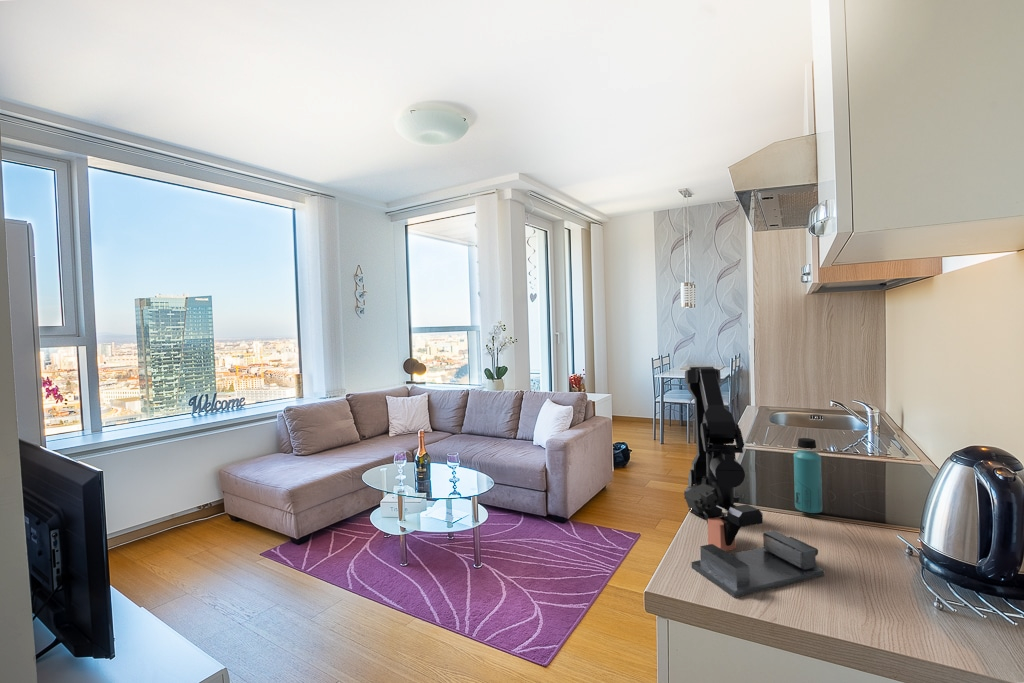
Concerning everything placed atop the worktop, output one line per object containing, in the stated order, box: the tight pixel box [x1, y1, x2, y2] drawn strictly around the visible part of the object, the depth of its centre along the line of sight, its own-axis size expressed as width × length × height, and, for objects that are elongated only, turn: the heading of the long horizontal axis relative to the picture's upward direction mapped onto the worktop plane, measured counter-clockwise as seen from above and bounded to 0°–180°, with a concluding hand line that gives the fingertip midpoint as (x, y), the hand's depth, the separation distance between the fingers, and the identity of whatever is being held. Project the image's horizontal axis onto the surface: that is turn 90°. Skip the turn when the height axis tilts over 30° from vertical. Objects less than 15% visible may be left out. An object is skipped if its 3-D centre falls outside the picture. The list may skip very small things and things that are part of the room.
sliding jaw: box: [762, 529, 819, 570], centre depth 100 cm, size 6×10×4 cm, turn 18°
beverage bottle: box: [792, 437, 824, 514], centre depth 126 cm, size 6×7×20 cm
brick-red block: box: [707, 516, 736, 552], centre depth 109 cm, size 4×4×6 cm
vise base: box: [690, 544, 825, 599], centre depth 97 cm, size 22×12×5 cm, turn 108°
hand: (721, 541), depth 109 cm, fingers closed on brick-red block, 4 cm apart
